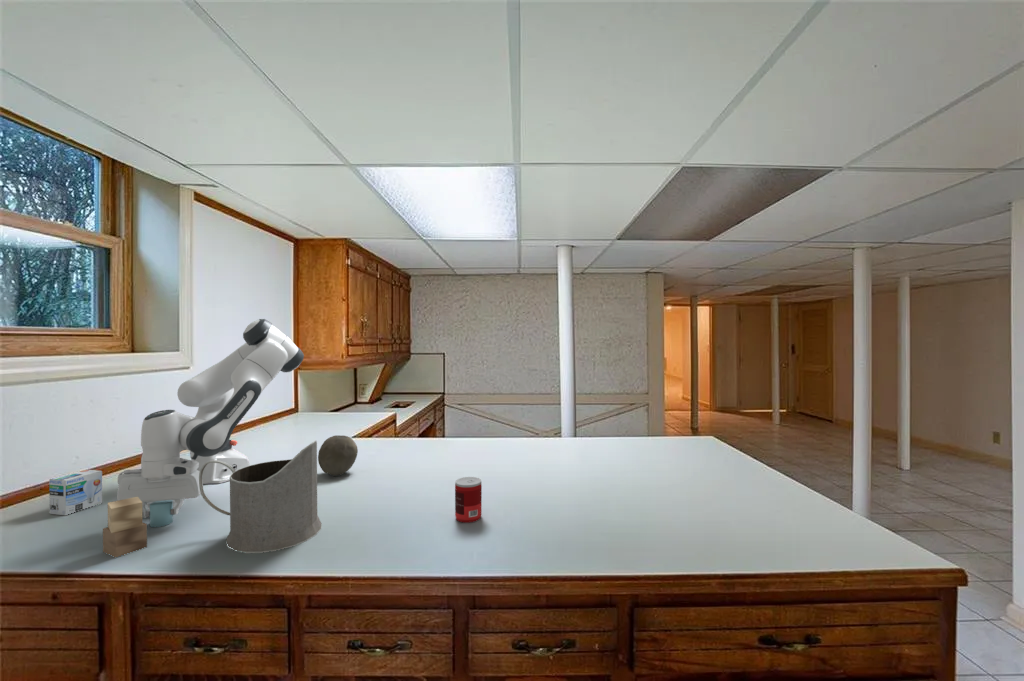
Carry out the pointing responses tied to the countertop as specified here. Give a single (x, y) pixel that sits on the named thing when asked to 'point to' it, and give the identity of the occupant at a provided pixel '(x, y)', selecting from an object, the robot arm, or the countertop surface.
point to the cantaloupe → (337, 455)
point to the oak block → (124, 514)
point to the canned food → (468, 499)
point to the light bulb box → (75, 491)
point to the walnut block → (124, 540)
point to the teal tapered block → (161, 513)
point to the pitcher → (272, 503)
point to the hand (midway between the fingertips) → (161, 515)
